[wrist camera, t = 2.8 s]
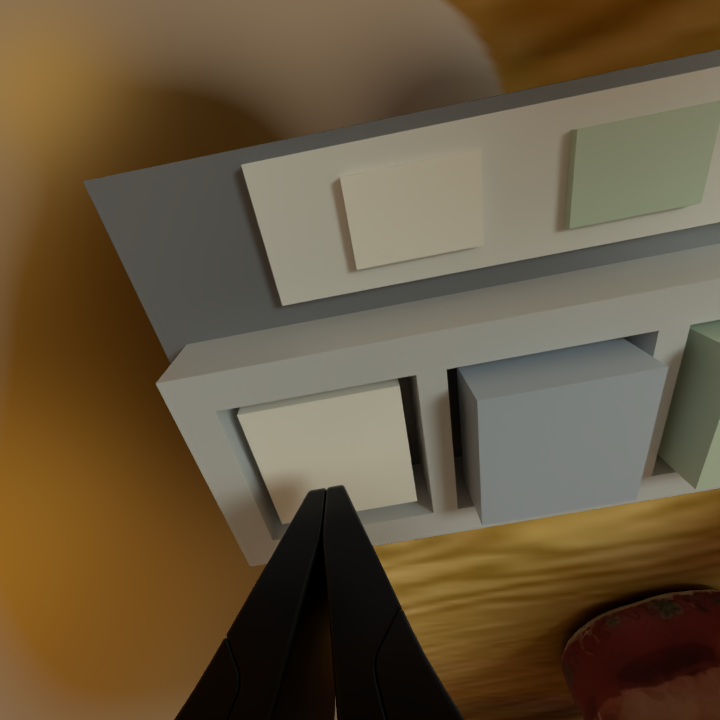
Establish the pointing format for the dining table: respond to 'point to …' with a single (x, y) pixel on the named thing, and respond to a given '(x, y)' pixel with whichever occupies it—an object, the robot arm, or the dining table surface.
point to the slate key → (557, 428)
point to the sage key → (696, 410)
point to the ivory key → (333, 446)
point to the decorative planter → (649, 660)
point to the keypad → (426, 267)
